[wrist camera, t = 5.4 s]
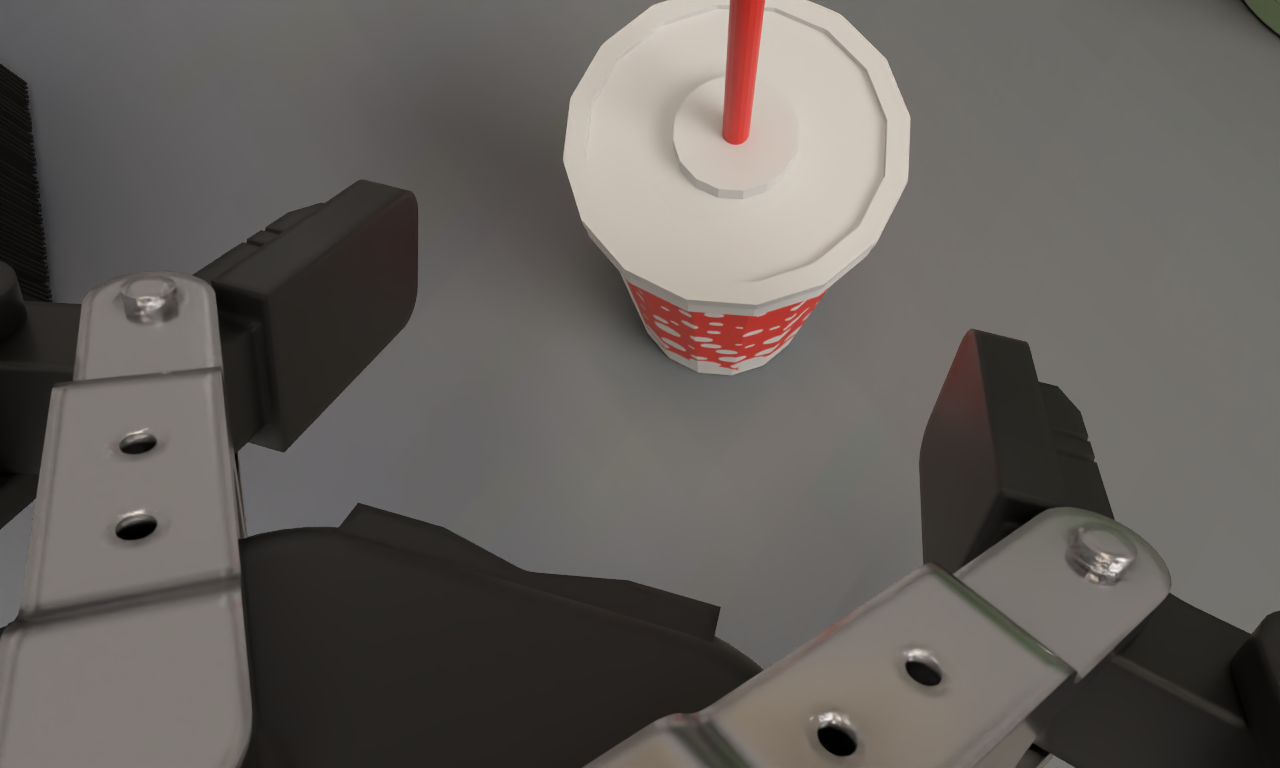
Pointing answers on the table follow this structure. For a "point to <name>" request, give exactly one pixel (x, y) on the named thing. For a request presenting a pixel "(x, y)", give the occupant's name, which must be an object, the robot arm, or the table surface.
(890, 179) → the beverage cup
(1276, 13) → the pen pot
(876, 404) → the table surface
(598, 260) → the table surface
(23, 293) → the cpu cooler
